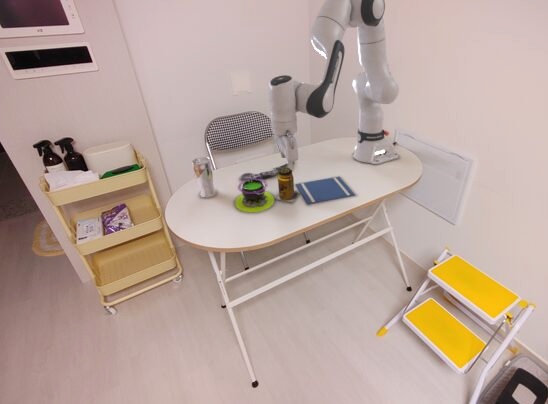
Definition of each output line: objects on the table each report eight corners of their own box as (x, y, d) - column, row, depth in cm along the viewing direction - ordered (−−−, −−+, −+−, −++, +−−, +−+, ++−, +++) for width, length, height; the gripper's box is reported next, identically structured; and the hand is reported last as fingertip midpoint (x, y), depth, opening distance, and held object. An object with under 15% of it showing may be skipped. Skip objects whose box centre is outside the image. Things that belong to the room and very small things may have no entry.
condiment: (275, 199, 120) (272, 172, 113) (284, 189, 126) (283, 163, 120) (291, 203, 118) (290, 175, 111) (300, 192, 124) (299, 166, 117)
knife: (292, 158, 148) (302, 164, 141) (292, 161, 149) (303, 167, 142) (237, 173, 136) (246, 181, 129) (238, 177, 137) (246, 185, 129)
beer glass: (202, 189, 127) (195, 156, 118) (219, 189, 126) (212, 156, 118) (197, 198, 121) (188, 164, 112) (214, 198, 121) (206, 164, 112)
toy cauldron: (277, 208, 114) (275, 183, 108) (237, 215, 111) (232, 189, 105) (270, 189, 126) (268, 165, 120) (234, 194, 123) (229, 170, 117)
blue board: (339, 177, 135) (339, 176, 134) (354, 195, 122) (354, 194, 122) (296, 184, 129) (296, 183, 129) (307, 204, 117) (307, 203, 116)
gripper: (301, 135, 98) (303, 173, 106) (285, 116, 114) (287, 150, 122) (283, 138, 96) (286, 176, 104) (269, 118, 112) (272, 153, 120)
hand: (286, 162), depth 113 cm, fingers open, 8 cm apart
